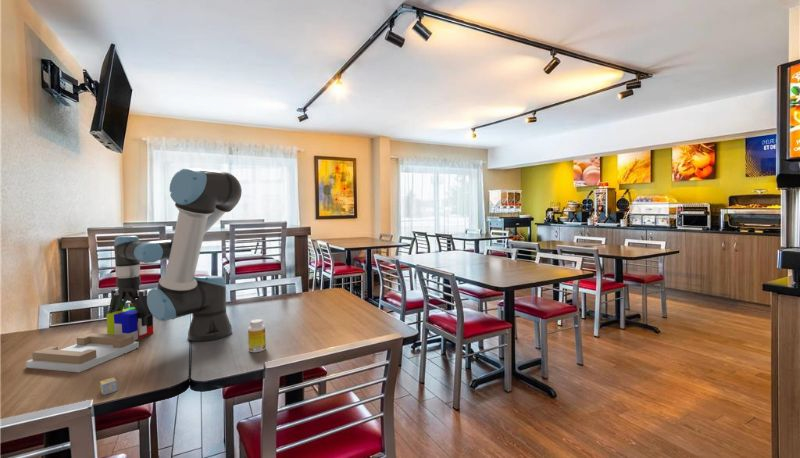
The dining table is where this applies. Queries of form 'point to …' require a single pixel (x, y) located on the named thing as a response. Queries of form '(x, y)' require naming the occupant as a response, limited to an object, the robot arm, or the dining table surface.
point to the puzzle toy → (127, 323)
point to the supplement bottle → (256, 336)
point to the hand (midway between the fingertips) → (131, 333)
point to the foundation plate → (100, 358)
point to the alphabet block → (108, 386)
